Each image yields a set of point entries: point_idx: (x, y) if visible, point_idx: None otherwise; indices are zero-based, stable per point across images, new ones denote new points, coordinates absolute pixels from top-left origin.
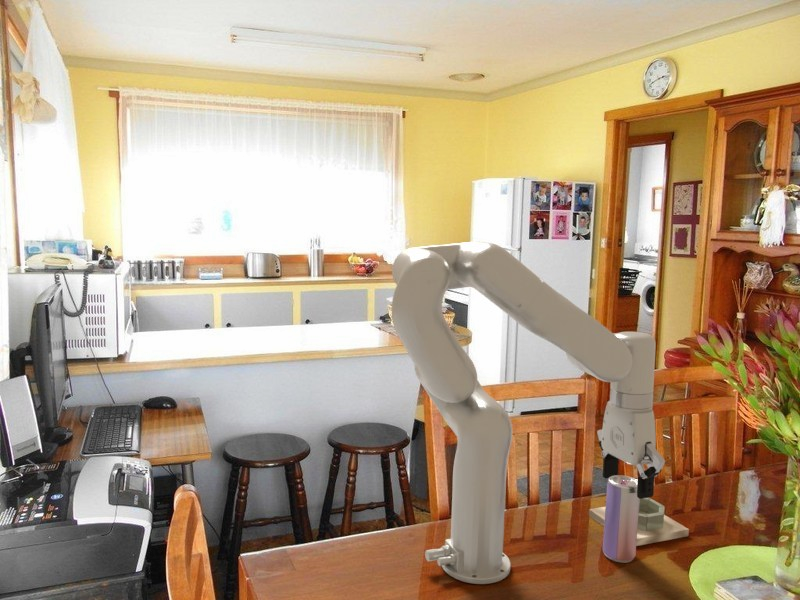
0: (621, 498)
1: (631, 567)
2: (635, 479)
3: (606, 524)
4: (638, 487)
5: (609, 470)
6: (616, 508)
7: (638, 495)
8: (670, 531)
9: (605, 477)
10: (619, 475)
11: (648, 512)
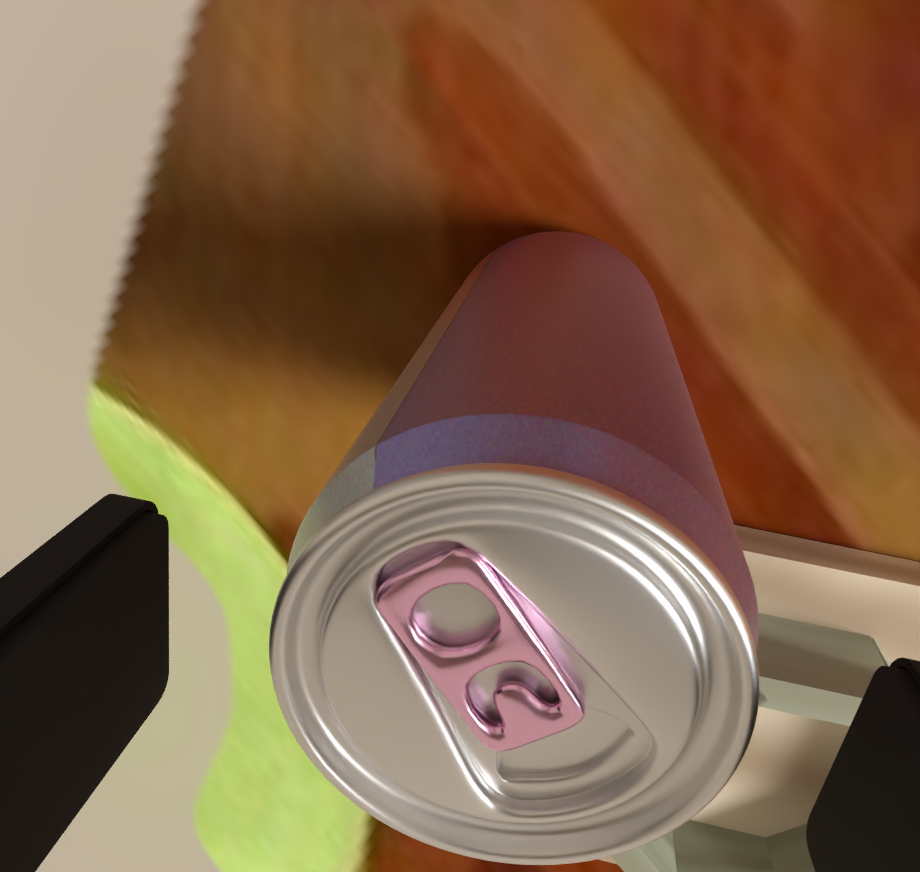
0: (389, 414)
1: (415, 290)
2: (466, 846)
3: (595, 284)
4: (31, 575)
5: (904, 811)
6: (464, 343)
7: (103, 507)
8: None
9: (890, 667)
10: (696, 799)
11: (757, 841)
